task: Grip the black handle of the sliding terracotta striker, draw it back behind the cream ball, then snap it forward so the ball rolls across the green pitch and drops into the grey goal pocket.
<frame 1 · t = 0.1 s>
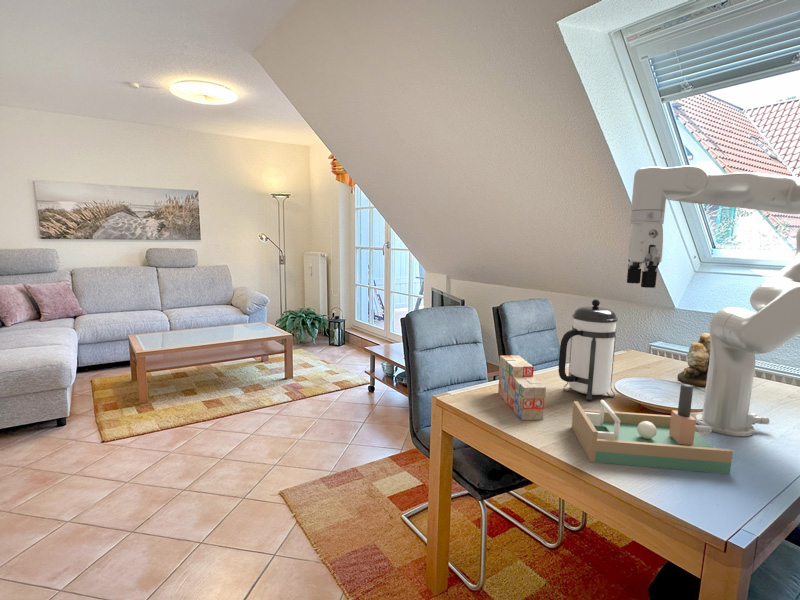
hand: (640, 285, 115), 37 cm above the table, tool pointing down, fingers open, 9 cm apart
stack of blocks: (518, 406, 130), on the table
coffee press: (586, 395, 139), on the table
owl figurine: (698, 380, 156), on the table
striker: (690, 413, 102), point 9 cm above the table, slide at 3.0 cm
pitch: (642, 447, 105), on the table
ball: (646, 430, 104), point 4 cm above the table, touching pitch
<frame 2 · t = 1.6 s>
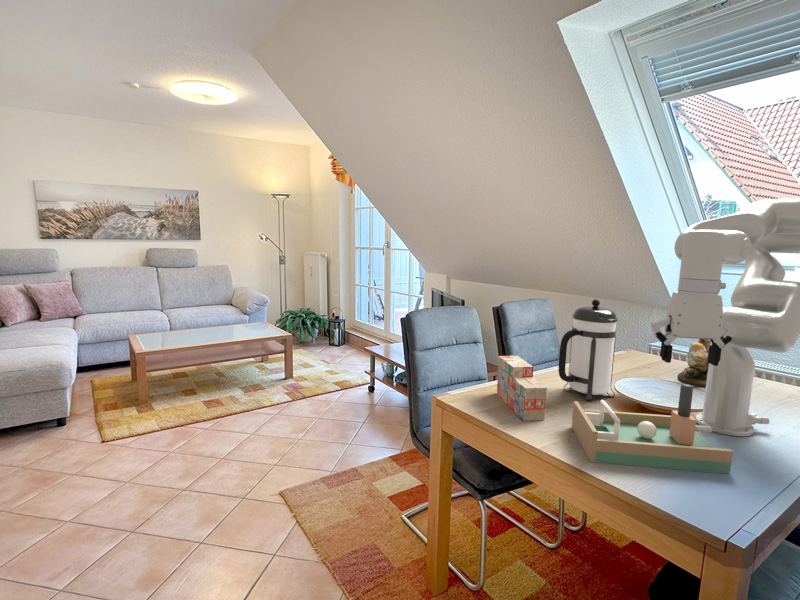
hand: (688, 362, 100), 21 cm above the table, tool pointing down, fingers open, 9 cm apart
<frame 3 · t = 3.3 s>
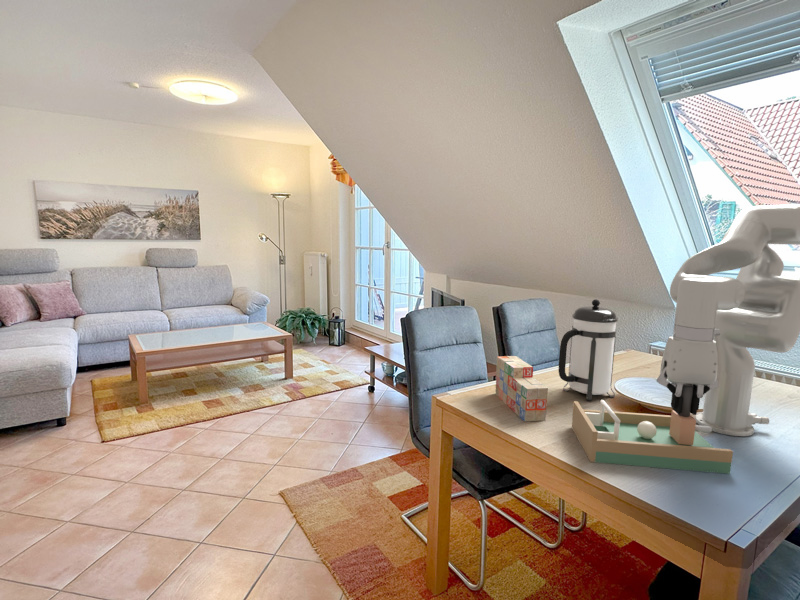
hand: (684, 411, 102), 10 cm above the table, tool pointing down, fingers closed on striker, 2 cm apart
striker: (690, 413, 102), point 9 cm above the table, slide at 3.0 cm, touching gripper
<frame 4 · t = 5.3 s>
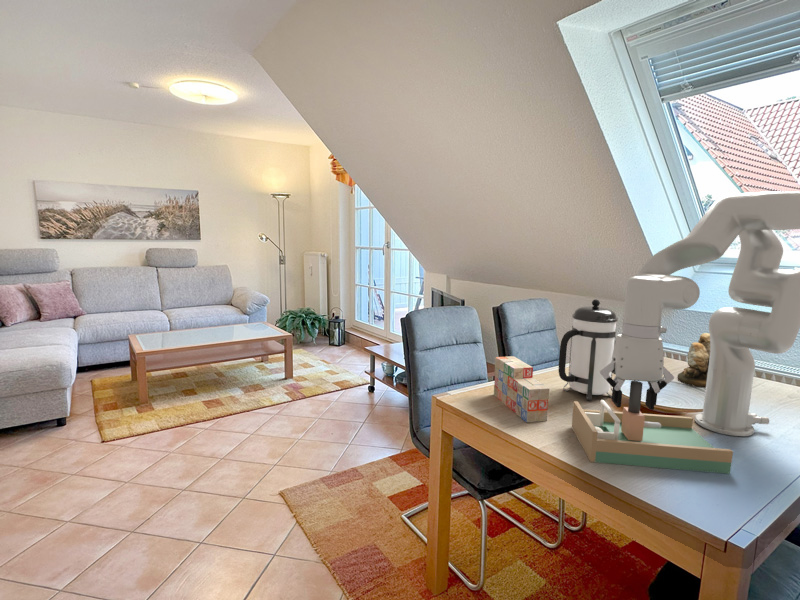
hand: (633, 405, 103), 10 cm above the table, tool pointing down, fingers open, 6 cm apart
striker: (640, 409, 103), point 9 cm above the table, slide at 13.7 cm
ball: (595, 434, 106), point 2 cm above the table, tilted 111°, touching pitch
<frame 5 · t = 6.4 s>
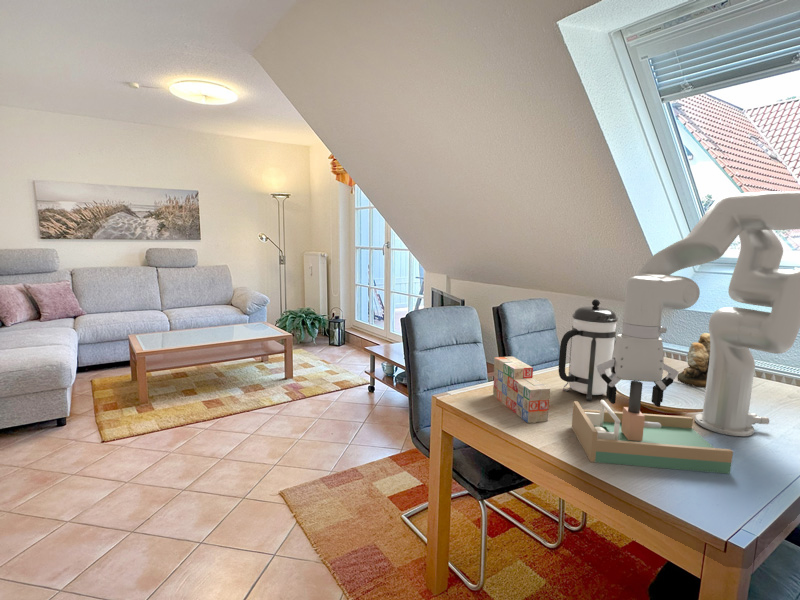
hand: (633, 403, 103), 11 cm above the table, tool pointing down, fingers open, 9 cm apart
ball: (598, 435, 106), point 2 cm above the table, tilted 130°, touching pitch
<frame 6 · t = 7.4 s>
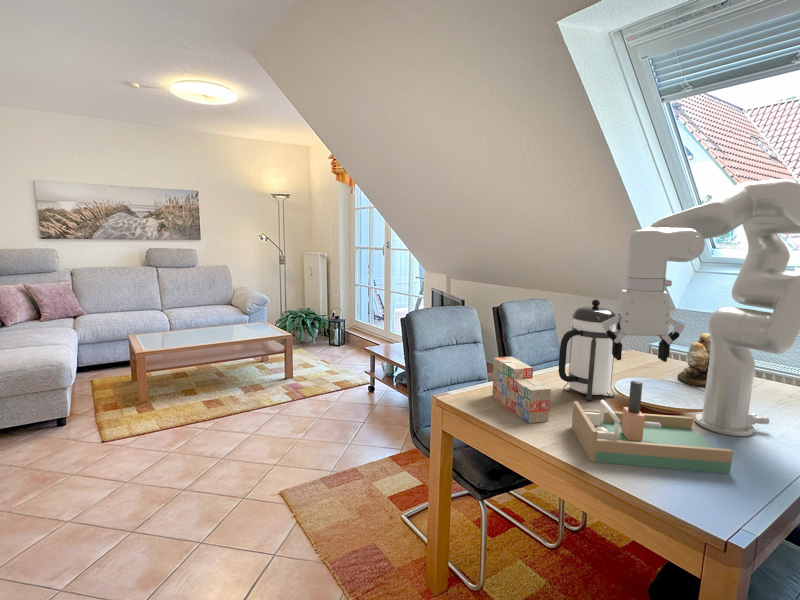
hand: (639, 359, 102), 21 cm above the table, tool pointing down, fingers open, 9 cm apart
ball: (601, 435, 106), point 2 cm above the table, tilted 148°, touching pitch
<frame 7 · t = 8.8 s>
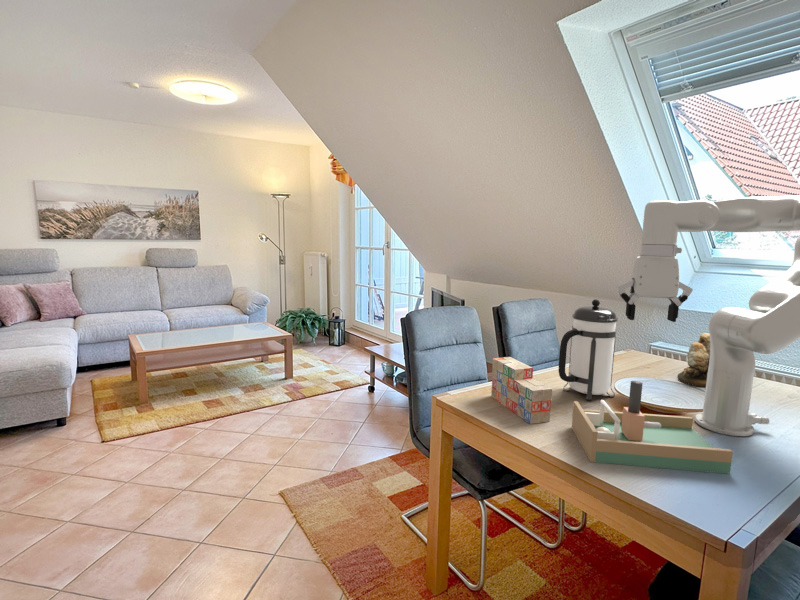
hand: (650, 320, 112), 28 cm above the table, tool pointing down, fingers open, 9 cm apart
ball: (602, 435, 106), point 2 cm above the table, tilted 159°, touching pitch
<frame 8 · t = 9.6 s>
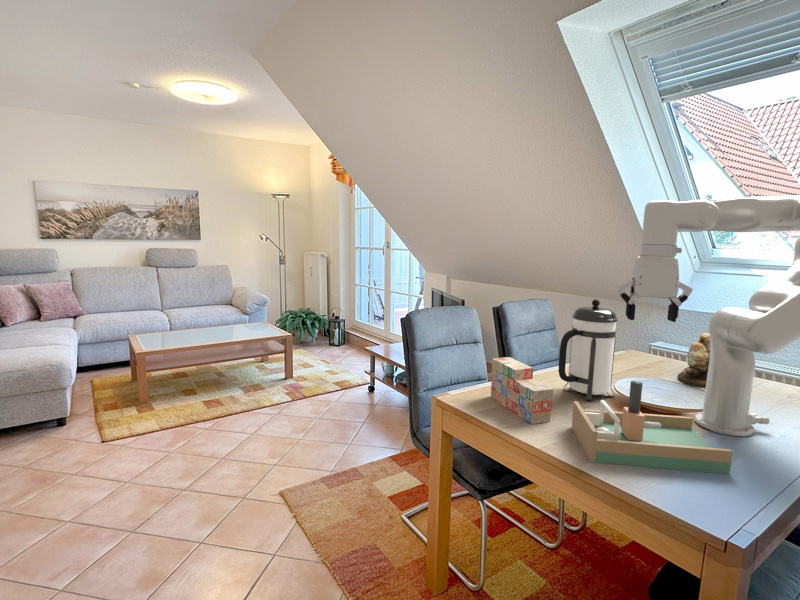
hand: (650, 320, 112), 28 cm above the table, tool pointing down, fingers open, 9 cm apart
at the end: ball inside the target area on the pitch (1.2 cm from its centre), point 2.3 cm above the pitch's base; striker slide at 13.7 cm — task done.
